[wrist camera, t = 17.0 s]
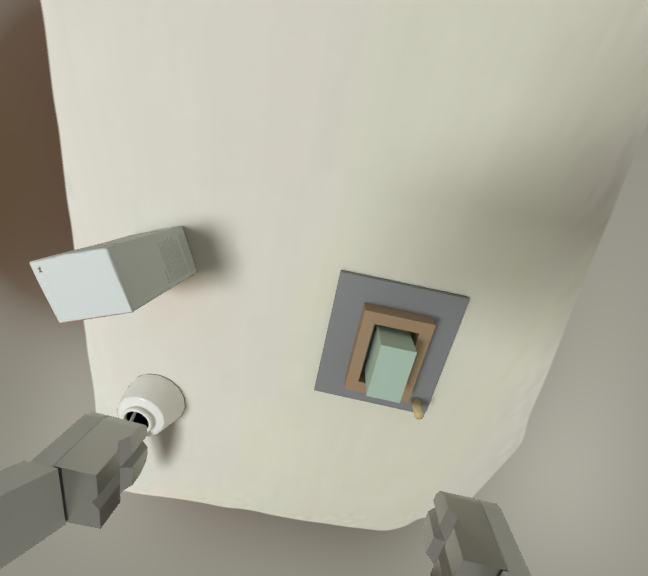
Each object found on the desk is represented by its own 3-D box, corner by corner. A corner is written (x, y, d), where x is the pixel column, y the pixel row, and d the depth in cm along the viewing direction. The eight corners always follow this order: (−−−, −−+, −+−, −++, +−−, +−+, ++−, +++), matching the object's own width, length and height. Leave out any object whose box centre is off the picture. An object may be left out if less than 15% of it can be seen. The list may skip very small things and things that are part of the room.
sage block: (364, 366, 42) (366, 395, 36) (377, 321, 40) (381, 344, 34) (393, 373, 42) (399, 403, 36) (407, 328, 40) (416, 352, 34)
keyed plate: (341, 270, 39) (339, 279, 35) (467, 296, 38) (478, 308, 35) (314, 386, 45) (311, 404, 41) (423, 410, 45) (429, 430, 41)
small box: (144, 282, 42) (57, 324, 29) (126, 235, 40) (25, 261, 28) (199, 272, 41) (133, 313, 28) (183, 224, 39) (104, 246, 26)
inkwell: (188, 382, 47) (147, 433, 37) (177, 466, 53) (139, 528, 43) (129, 366, 47) (73, 413, 37) (125, 452, 53) (76, 511, 43)
